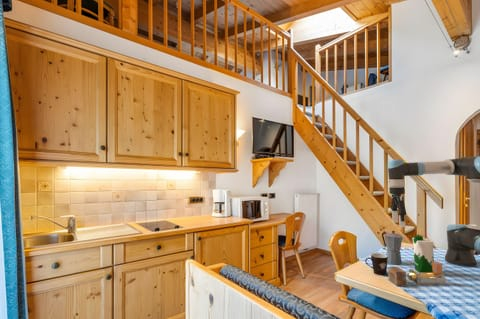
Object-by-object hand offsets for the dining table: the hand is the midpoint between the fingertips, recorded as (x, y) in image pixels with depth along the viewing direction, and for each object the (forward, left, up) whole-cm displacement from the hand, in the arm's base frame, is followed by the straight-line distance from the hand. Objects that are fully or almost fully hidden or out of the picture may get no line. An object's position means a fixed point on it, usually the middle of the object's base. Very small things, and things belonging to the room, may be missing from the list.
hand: (398, 224), depth 153 cm
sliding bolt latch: (-7, +12, -27) cm, 30 cm away
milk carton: (-15, -2, -28) cm, 31 cm away
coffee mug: (+12, -2, -28) cm, 30 cm away
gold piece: (-6, +12, -26) cm, 29 cm away
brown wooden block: (+9, +12, -27) cm, 31 cm away
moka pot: (-6, -18, -28) cm, 34 cm away
